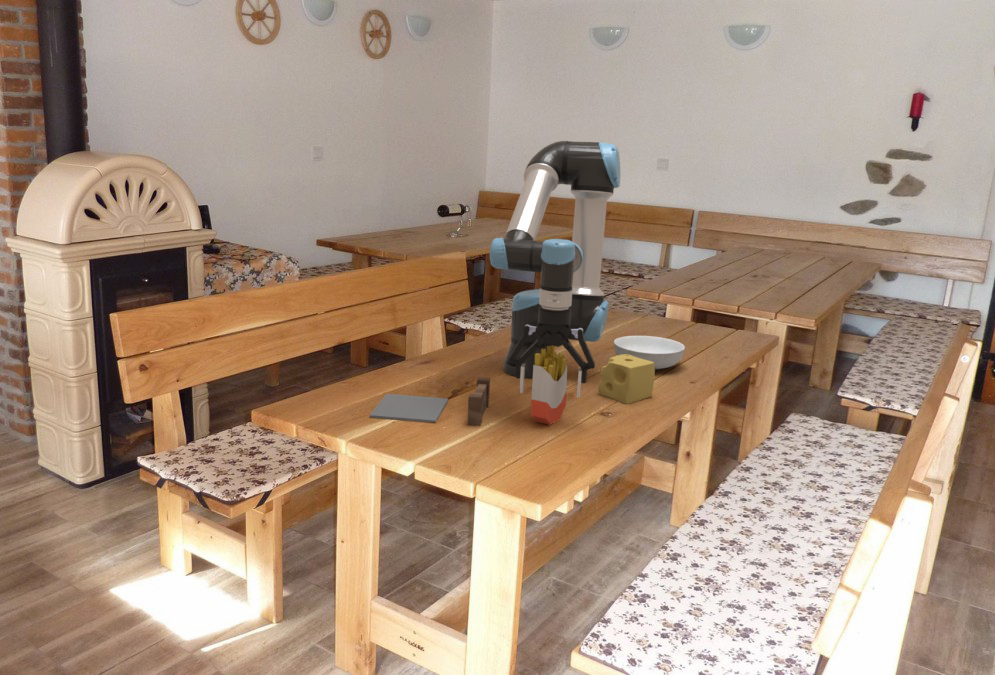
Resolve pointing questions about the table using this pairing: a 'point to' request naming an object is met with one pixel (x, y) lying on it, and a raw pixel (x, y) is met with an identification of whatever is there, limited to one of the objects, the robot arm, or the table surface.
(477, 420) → the walnut fence
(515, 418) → the table surface
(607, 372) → the cheese
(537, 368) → the french fries container
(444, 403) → the slate mat
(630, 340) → the serving bowl
